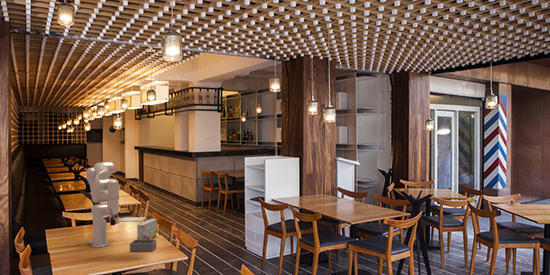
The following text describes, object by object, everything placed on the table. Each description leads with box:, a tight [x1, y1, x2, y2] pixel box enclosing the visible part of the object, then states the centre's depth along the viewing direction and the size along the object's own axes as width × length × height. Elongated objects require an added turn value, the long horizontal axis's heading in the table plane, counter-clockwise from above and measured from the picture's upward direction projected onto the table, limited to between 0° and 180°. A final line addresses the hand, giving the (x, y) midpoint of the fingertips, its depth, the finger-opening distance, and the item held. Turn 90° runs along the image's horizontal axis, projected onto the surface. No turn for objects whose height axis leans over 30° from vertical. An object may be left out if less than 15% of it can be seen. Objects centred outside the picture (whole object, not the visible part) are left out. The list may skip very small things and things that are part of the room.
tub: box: [129, 239, 157, 253], centre depth 290 cm, size 16×10×6 cm, turn 90°
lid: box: [114, 216, 147, 224], centre depth 274 cm, size 23×11×3 cm, turn 90°
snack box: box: [136, 218, 158, 240], centre depth 315 cm, size 21×6×15 cm, turn 168°
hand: (113, 224), depth 274 cm, fingers closed on lid, 3 cm apart
